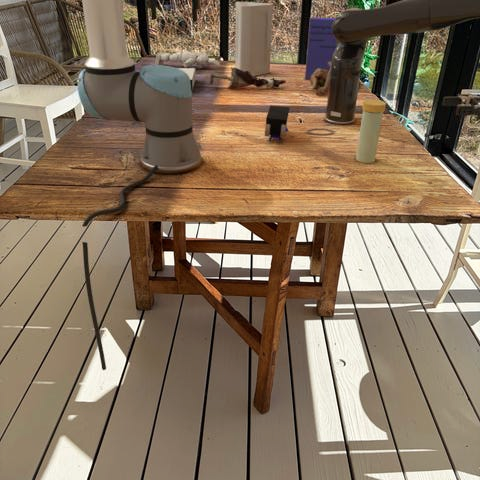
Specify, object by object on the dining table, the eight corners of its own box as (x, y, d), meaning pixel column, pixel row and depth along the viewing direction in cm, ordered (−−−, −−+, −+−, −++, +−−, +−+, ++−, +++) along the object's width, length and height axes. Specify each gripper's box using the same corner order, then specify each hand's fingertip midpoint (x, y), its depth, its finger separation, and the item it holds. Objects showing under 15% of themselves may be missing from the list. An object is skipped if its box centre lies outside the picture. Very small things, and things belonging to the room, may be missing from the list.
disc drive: (146, 92, 183) (145, 79, 180) (154, 79, 202) (153, 67, 200) (192, 93, 183) (192, 80, 181) (196, 79, 203) (195, 67, 200)
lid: (360, 111, 119) (361, 103, 118) (364, 105, 123) (365, 98, 122) (383, 113, 117) (384, 106, 116) (386, 108, 121) (387, 101, 121)
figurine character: (286, 149, 136) (289, 127, 148) (287, 124, 131) (290, 104, 143) (262, 148, 137) (267, 126, 149) (263, 123, 132) (268, 103, 144)
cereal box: (344, 77, 210) (352, 18, 198) (346, 80, 206) (353, 19, 194) (305, 76, 211) (309, 17, 199) (305, 79, 207) (310, 18, 195)
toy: (175, 75, 210) (174, 58, 206) (151, 64, 228) (150, 49, 224) (222, 69, 222) (222, 53, 218) (195, 59, 239) (195, 45, 236)
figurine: (210, 87, 179) (288, 95, 182) (212, 65, 176) (291, 73, 180) (208, 84, 201) (278, 91, 205) (210, 64, 198) (280, 71, 202)
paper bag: (273, 76, 210) (276, 6, 196) (239, 77, 209) (240, 6, 194) (266, 67, 226) (268, 2, 212) (235, 67, 225) (235, 1, 210)
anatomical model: (320, 97, 196) (320, 98, 182) (304, 82, 195) (303, 82, 181) (342, 73, 192) (344, 72, 177) (327, 57, 191) (327, 56, 177)
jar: (354, 161, 126) (362, 105, 118) (357, 155, 130) (366, 100, 122) (373, 164, 124) (382, 107, 117) (376, 157, 128) (385, 102, 121)
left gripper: (214, -58, 143) (215, 20, 153) (135, -59, 146) (141, 17, 157) (207, -58, 136) (209, 23, 147) (125, -59, 140) (133, 20, 151)
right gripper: (503, 83, 125) (442, 84, 124) (533, 97, 112) (465, 98, 112) (495, 112, 128) (436, 112, 128) (523, 129, 116) (458, 129, 116)
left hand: (174, 20), depth 152 cm, fingers open, 13 cm apart
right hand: (449, 105), depth 120 cm, fingers open, 8 cm apart
